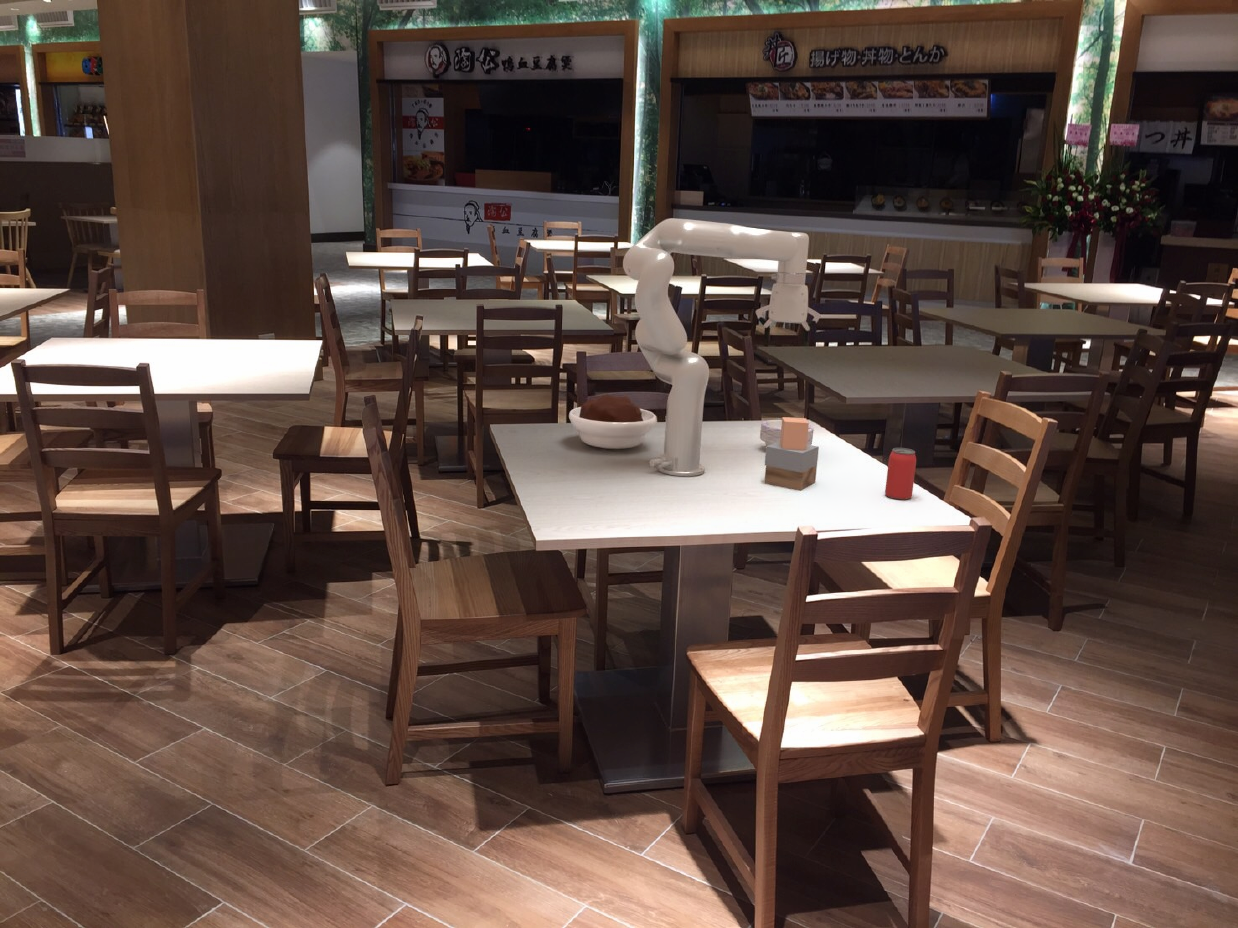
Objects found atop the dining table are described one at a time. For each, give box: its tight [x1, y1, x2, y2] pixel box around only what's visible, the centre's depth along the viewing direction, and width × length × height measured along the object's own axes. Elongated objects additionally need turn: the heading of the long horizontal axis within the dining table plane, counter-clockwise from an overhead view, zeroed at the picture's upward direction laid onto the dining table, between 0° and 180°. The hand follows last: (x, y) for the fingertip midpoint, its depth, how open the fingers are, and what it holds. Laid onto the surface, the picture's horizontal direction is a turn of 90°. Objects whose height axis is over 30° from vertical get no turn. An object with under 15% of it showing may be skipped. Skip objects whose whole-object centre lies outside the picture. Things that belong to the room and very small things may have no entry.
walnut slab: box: [763, 465, 818, 492], centre depth 265 cm, size 10×10×5 cm
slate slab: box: [764, 442, 820, 473], centre depth 264 cm, size 10×10×5 cm
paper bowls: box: [759, 419, 815, 446], centre depth 299 cm, size 15×15×8 cm
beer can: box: [884, 447, 917, 501], centre depth 256 cm, size 7×7×12 cm
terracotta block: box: [780, 416, 810, 450], centre depth 262 cm, size 6×6×7 cm
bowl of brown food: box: [568, 394, 657, 450], centre depth 294 cm, size 25×25×15 cm
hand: (785, 343), depth 278 cm, fingers open, 9 cm apart
